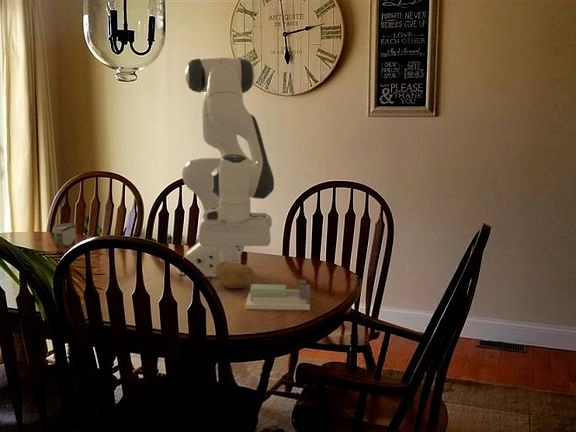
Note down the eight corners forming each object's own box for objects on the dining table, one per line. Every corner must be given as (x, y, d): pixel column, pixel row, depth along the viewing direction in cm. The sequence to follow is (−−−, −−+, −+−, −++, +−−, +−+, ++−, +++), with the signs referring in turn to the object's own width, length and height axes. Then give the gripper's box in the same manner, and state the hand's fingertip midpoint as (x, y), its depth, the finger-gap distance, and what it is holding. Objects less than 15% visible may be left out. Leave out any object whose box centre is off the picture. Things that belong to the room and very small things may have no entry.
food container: (63, 246, 247) (61, 222, 245) (77, 247, 246) (76, 223, 244) (47, 253, 235) (45, 227, 233) (62, 254, 234) (60, 228, 232)
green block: (250, 300, 173) (250, 289, 173) (251, 295, 178) (251, 284, 178) (285, 301, 173) (285, 289, 173) (285, 296, 178) (285, 284, 178)
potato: (242, 295, 183) (242, 269, 182) (208, 287, 191) (207, 262, 190) (262, 288, 191) (262, 263, 189) (229, 280, 199) (228, 256, 198)
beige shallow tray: (245, 308, 170) (245, 288, 169) (248, 296, 182) (248, 277, 181) (309, 309, 170) (310, 289, 169) (309, 297, 182) (309, 278, 181)
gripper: (272, 211, 175) (272, 258, 177) (201, 211, 175) (201, 258, 177) (271, 214, 168) (271, 263, 170) (197, 214, 169) (198, 262, 171)
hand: (235, 260), depth 174 cm, fingers closed
